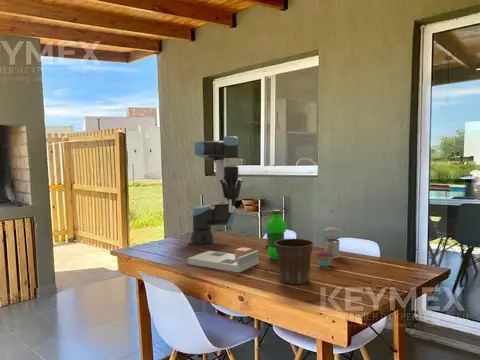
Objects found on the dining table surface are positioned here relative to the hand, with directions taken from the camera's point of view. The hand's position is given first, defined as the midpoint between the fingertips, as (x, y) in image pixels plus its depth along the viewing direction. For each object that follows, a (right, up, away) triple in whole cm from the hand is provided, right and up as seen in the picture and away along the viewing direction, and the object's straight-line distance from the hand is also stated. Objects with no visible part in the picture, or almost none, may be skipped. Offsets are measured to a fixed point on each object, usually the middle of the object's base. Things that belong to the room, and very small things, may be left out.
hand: (231, 211), depth 196 cm
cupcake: (+45, -25, -14) cm, 53 cm away
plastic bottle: (+24, -24, 0) cm, 34 cm away
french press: (+53, -24, +6) cm, 58 cm away
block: (+6, -22, -11) cm, 25 cm away
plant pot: (+27, -26, -37) cm, 53 cm away
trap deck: (-4, -25, -9) cm, 27 cm away
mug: (+25, -23, +29) cm, 45 cm away
